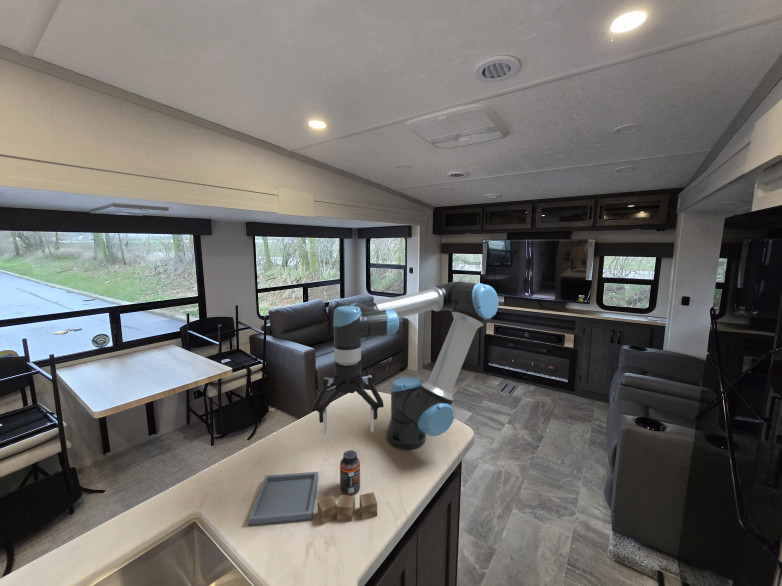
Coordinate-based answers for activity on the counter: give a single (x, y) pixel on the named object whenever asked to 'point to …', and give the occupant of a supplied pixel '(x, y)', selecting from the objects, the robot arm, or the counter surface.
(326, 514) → the block
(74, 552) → the counter surface
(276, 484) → the tray
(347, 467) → the supplement bottle
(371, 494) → the block
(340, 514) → the block
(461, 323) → the robot arm
